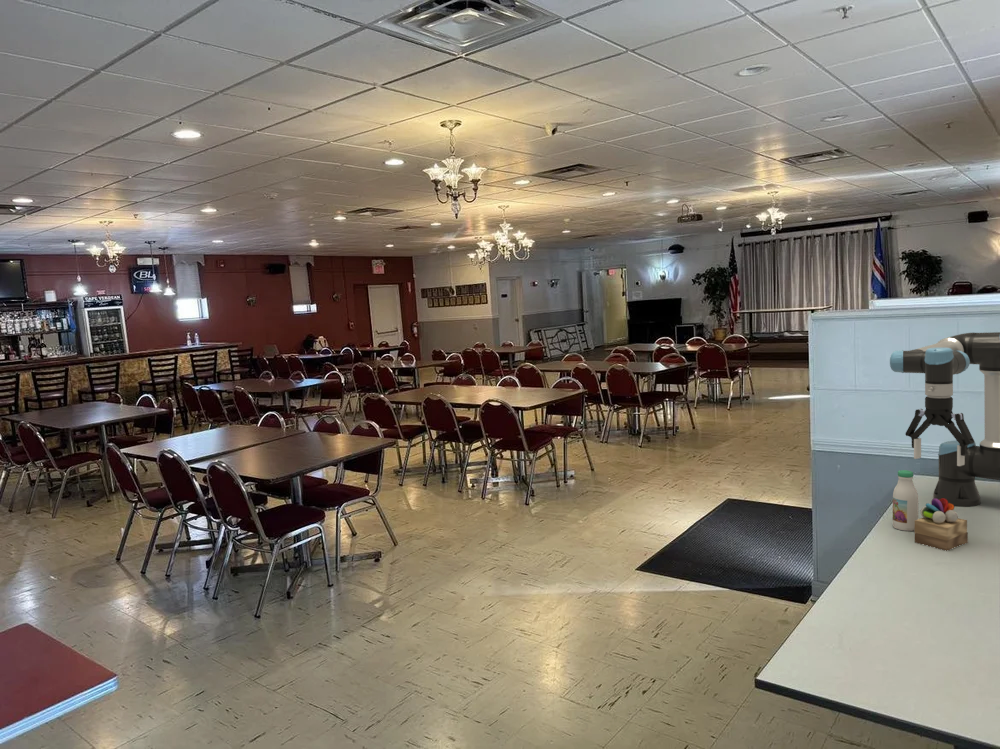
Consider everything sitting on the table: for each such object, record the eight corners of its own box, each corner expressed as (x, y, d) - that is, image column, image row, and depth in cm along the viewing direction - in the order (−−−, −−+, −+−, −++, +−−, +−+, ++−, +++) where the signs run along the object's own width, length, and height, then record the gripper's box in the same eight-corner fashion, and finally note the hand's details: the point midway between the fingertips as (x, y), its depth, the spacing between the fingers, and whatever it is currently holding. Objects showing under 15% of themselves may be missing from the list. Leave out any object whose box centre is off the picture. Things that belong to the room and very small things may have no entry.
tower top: (934, 524, 233) (934, 513, 233) (966, 532, 225) (967, 520, 224) (914, 532, 227) (914, 520, 227) (947, 540, 219) (947, 528, 218)
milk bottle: (911, 524, 245) (911, 468, 243) (922, 531, 237) (922, 473, 235) (888, 524, 246) (888, 469, 244) (898, 531, 238) (898, 474, 236)
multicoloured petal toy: (962, 523, 222) (962, 500, 221) (933, 525, 221) (933, 503, 220) (944, 515, 230) (944, 493, 229) (916, 517, 230) (915, 496, 229)
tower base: (935, 536, 233) (935, 524, 233) (967, 544, 225) (967, 532, 224) (914, 544, 228) (914, 532, 227) (946, 552, 219) (946, 540, 219)
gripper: (893, 394, 231) (893, 457, 234) (973, 401, 209) (973, 470, 212) (907, 391, 235) (907, 453, 237) (987, 398, 213) (987, 466, 215)
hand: (938, 461), depth 224 cm, fingers open, 13 cm apart
